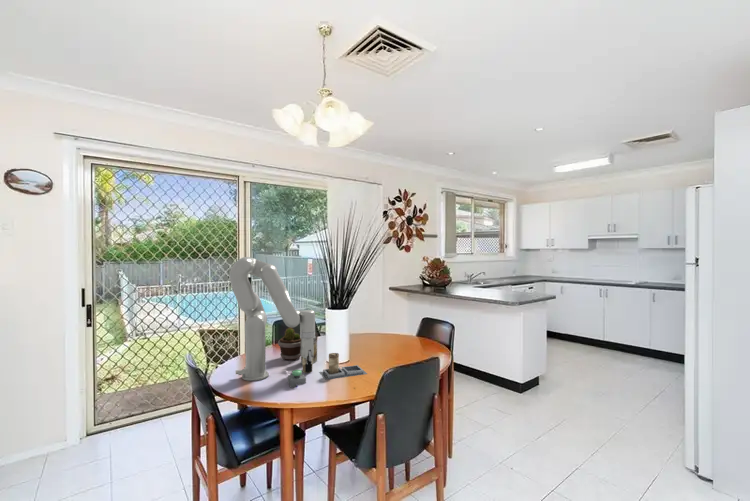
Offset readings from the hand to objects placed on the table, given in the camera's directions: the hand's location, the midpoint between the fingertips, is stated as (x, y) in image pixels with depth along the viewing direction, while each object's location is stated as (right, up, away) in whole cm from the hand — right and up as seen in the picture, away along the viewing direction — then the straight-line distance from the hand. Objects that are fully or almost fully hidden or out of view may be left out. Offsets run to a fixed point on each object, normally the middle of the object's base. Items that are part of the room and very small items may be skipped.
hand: (307, 369), depth 186 cm
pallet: (+19, -2, -3) cm, 19 cm away
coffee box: (-2, -2, +18) cm, 18 cm away
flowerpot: (-14, -2, +25) cm, 29 cm away
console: (-2, -2, -15) cm, 15 cm away
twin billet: (+14, -1, -5) cm, 15 cm away
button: (-2, 0, -15) cm, 15 cm away
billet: (0, -2, 0) cm, 2 cm away
